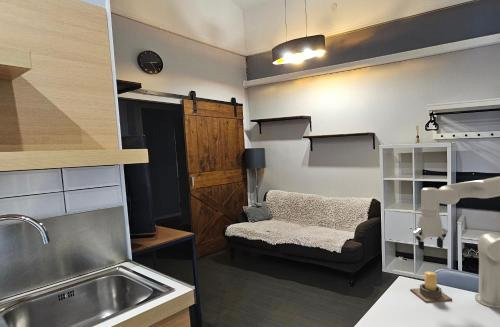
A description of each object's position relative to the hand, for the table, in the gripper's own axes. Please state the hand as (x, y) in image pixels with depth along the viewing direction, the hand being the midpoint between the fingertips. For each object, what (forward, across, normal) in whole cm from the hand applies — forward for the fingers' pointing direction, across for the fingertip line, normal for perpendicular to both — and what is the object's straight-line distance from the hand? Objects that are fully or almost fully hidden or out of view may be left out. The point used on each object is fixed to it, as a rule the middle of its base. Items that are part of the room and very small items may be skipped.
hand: (430, 248), depth 150 cm
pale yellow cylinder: (+22, +1, +1) cm, 22 cm away
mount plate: (+23, +1, +1) cm, 23 cm away
